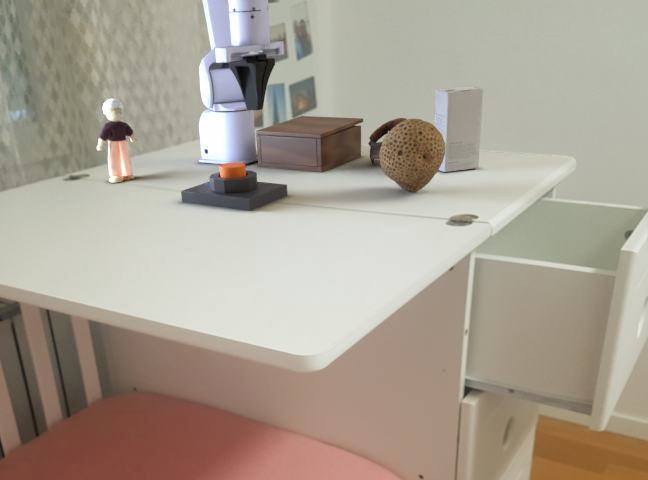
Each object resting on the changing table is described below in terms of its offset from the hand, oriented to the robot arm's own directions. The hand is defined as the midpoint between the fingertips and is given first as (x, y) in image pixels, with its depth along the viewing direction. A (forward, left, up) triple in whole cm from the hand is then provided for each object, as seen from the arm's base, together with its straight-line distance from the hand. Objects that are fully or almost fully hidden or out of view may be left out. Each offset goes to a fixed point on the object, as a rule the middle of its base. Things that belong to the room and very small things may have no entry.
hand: (254, 109), depth 109 cm
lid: (+1, +14, -5) cm, 15 cm away
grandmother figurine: (-21, -9, -11) cm, 25 cm away
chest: (+1, +14, -10) cm, 17 cm away
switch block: (+5, -13, -10) cm, 17 cm away
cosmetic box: (+26, +17, -11) cm, 33 cm away
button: (+5, -13, -7) cm, 16 cm away
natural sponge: (+26, 0, -11) cm, 28 cm away
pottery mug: (+16, +18, -11) cm, 26 cm away
